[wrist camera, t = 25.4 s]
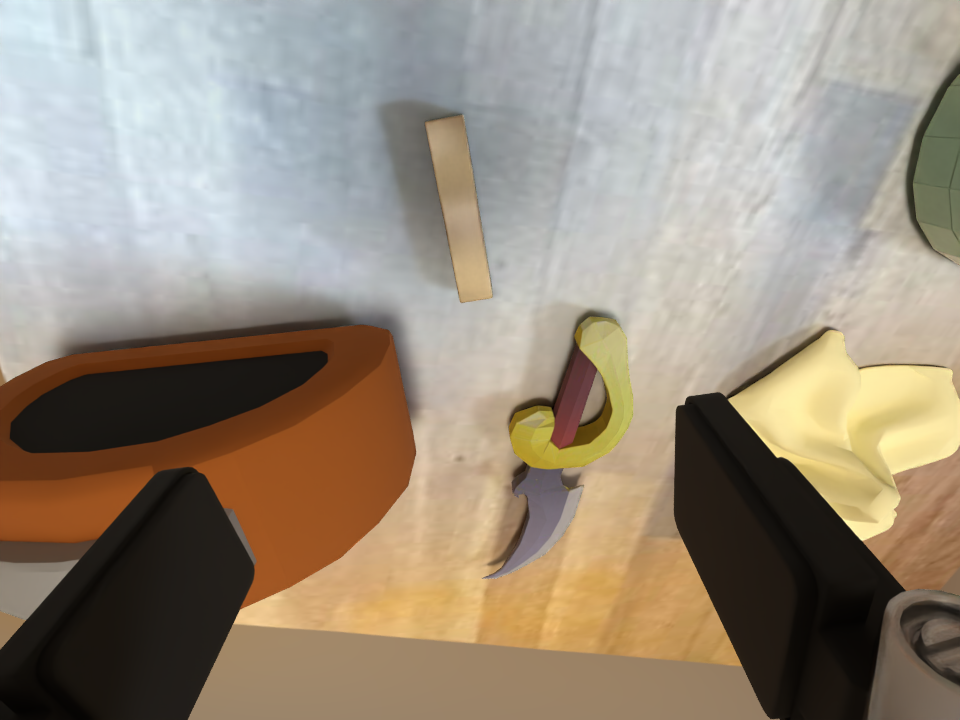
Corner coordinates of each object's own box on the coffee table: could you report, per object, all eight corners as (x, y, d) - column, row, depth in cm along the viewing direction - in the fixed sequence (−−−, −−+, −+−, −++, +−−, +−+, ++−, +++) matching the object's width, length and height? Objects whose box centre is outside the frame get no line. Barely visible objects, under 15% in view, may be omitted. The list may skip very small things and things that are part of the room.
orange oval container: (402, 310, 32) (336, 489, 17) (424, 423, 36) (386, 647, 21) (59, 346, 33) (-287, 543, 18) (118, 452, 37) (-122, 684, 22)
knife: (549, 576, 43) (659, 324, 32) (553, 603, 41) (674, 341, 30) (463, 562, 43) (546, 299, 31) (462, 589, 40) (552, 315, 29)
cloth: (760, 314, 32) (818, 357, 27) (1012, 358, 34) (1116, 407, 28) (647, 552, 42) (673, 618, 37) (846, 577, 44) (899, 644, 38)
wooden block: (427, 120, 27) (423, 121, 25) (463, 114, 27) (462, 114, 25) (461, 292, 31) (460, 303, 29) (492, 287, 31) (492, 298, 29)
